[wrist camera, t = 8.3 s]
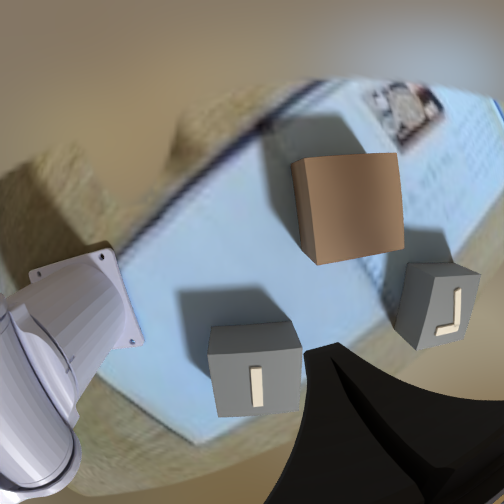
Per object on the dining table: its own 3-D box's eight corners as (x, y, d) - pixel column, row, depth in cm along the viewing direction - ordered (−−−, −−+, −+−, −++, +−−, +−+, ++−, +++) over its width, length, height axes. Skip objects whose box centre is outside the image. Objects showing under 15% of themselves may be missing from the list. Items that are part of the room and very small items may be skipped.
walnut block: (301, 250, 19) (317, 265, 15) (289, 164, 18) (304, 158, 14) (376, 237, 19) (404, 248, 16) (368, 157, 18) (396, 152, 14)
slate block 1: (219, 384, 22) (218, 419, 17) (211, 325, 20) (206, 356, 16) (289, 379, 22) (299, 412, 18) (290, 319, 20) (303, 349, 16)
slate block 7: (392, 328, 21) (417, 351, 17) (405, 262, 20) (436, 277, 16) (439, 321, 22) (464, 339, 18) (452, 262, 20) (482, 274, 16)
